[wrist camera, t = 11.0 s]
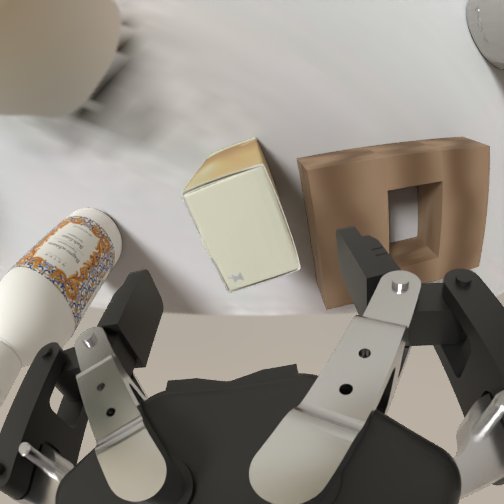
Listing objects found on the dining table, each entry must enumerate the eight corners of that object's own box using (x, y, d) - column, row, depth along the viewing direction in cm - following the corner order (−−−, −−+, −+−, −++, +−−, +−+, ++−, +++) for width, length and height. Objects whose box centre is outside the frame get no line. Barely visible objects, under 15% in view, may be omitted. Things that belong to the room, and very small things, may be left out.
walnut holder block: (461, 136, 23) (489, 146, 19) (457, 246, 29) (478, 266, 26) (296, 158, 25) (307, 170, 21) (316, 282, 31) (326, 309, 27)
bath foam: (133, 227, 27) (27, 402, 10) (111, 277, 30) (30, 438, 13) (76, 193, 25) (-68, 327, 8) (60, 247, 28) (-47, 384, 11)
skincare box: (280, 200, 27) (306, 275, 16) (234, 216, 27) (229, 299, 17) (255, 132, 24) (266, 160, 13) (206, 150, 24) (177, 194, 14)
